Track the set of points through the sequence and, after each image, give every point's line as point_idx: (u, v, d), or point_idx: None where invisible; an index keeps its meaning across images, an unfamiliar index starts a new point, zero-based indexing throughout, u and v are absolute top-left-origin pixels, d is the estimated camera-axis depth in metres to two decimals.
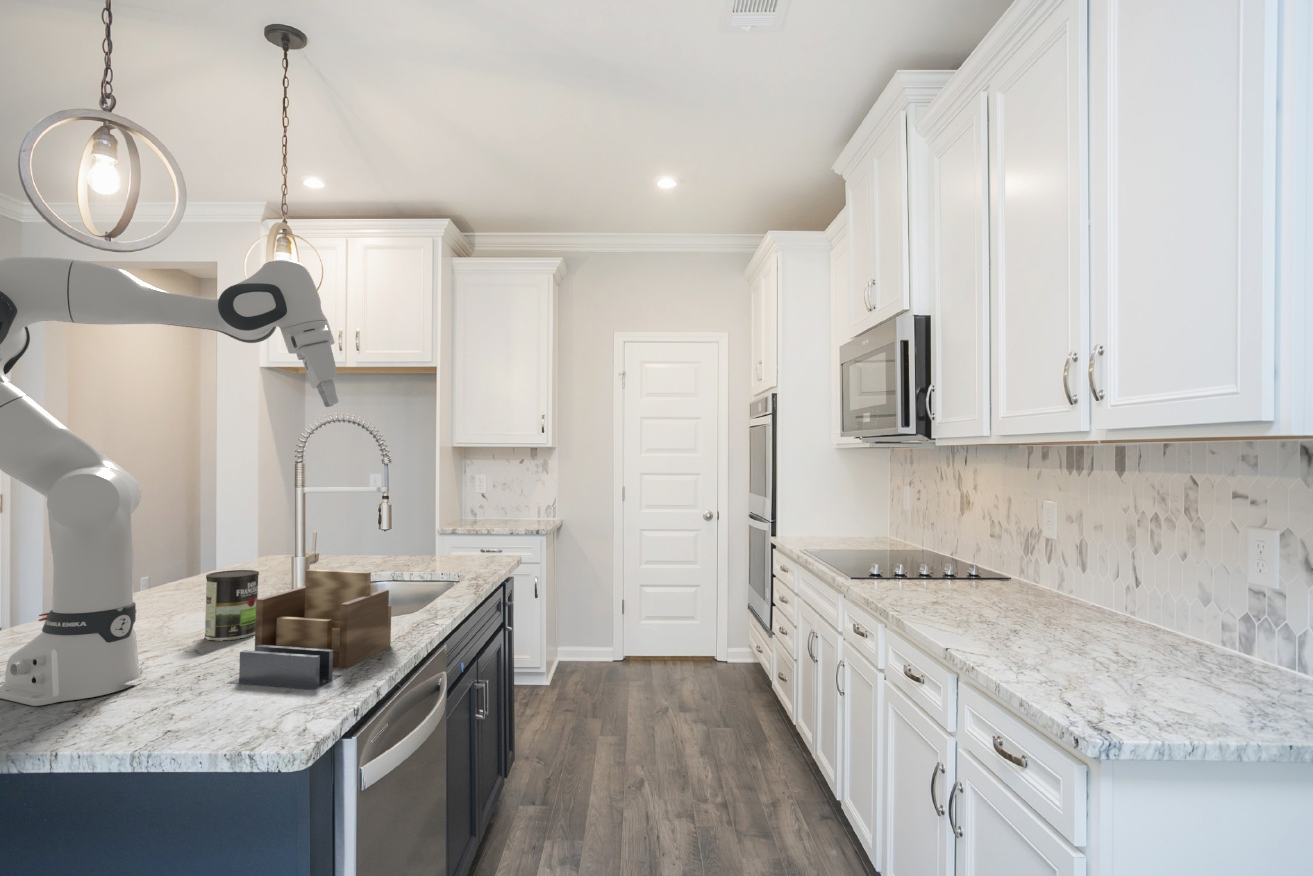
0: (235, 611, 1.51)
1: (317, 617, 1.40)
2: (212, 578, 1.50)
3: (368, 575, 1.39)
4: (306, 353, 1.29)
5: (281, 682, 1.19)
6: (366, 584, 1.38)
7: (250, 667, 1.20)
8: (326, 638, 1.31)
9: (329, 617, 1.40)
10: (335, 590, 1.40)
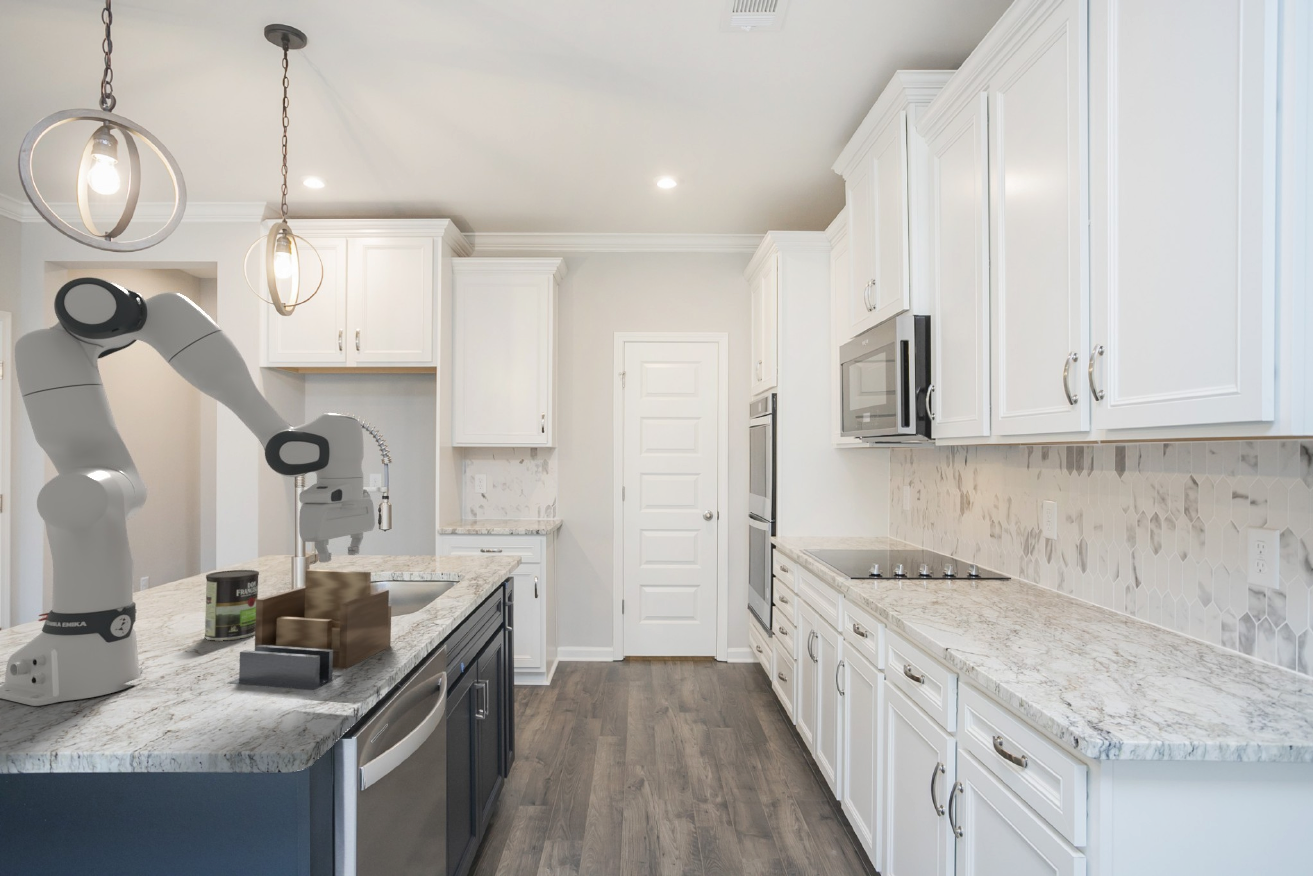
0: (235, 611, 1.51)
1: (317, 617, 1.40)
2: (212, 578, 1.50)
3: (368, 575, 1.39)
4: (300, 512, 1.32)
5: (281, 682, 1.19)
6: (366, 584, 1.38)
7: (250, 667, 1.20)
8: (326, 638, 1.31)
9: (329, 617, 1.40)
10: (335, 590, 1.40)
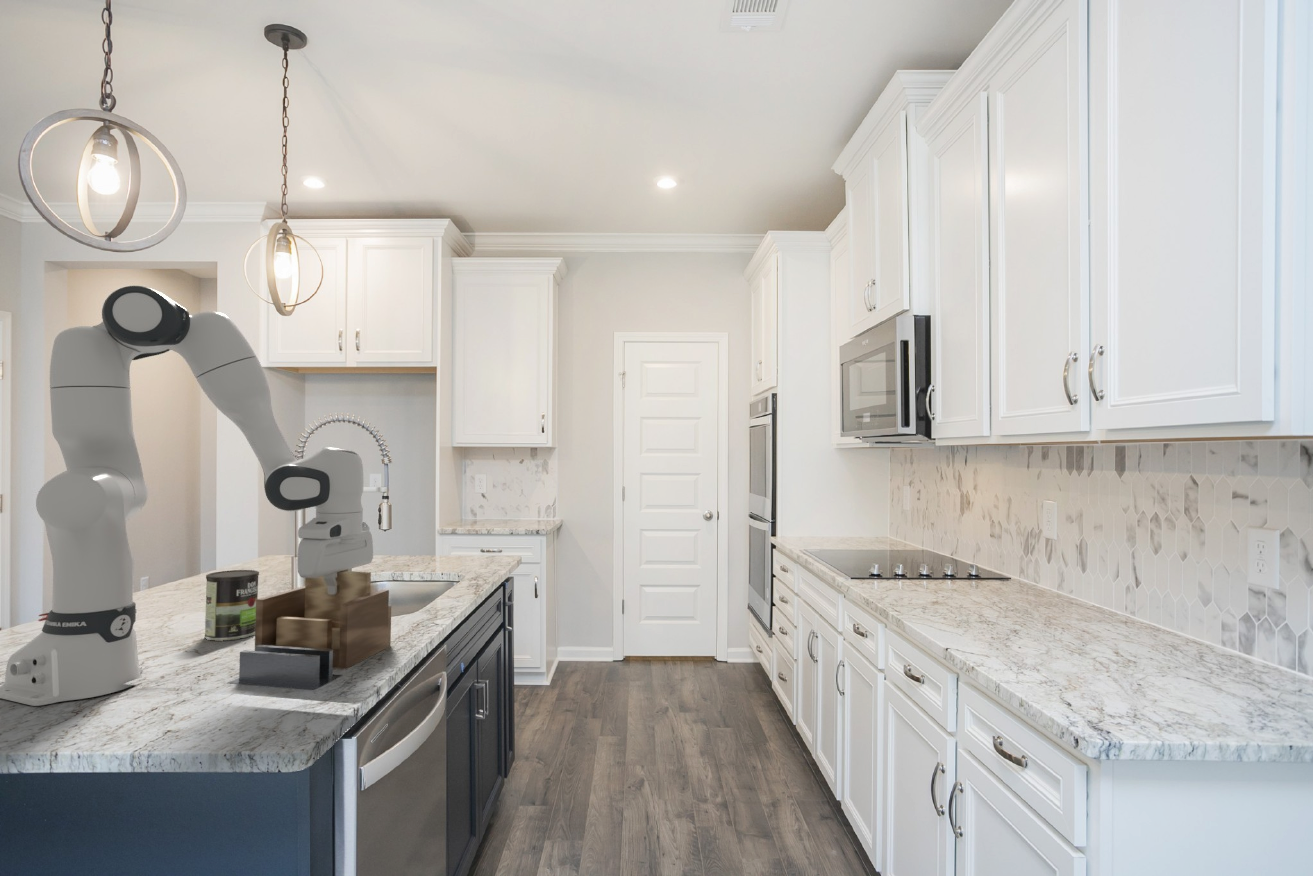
0: (235, 611, 1.51)
1: (317, 617, 1.40)
2: (212, 578, 1.50)
3: (368, 575, 1.39)
4: (298, 547, 1.32)
5: (281, 682, 1.19)
6: (366, 584, 1.38)
7: (250, 667, 1.20)
8: (326, 638, 1.31)
9: (329, 617, 1.40)
10: None
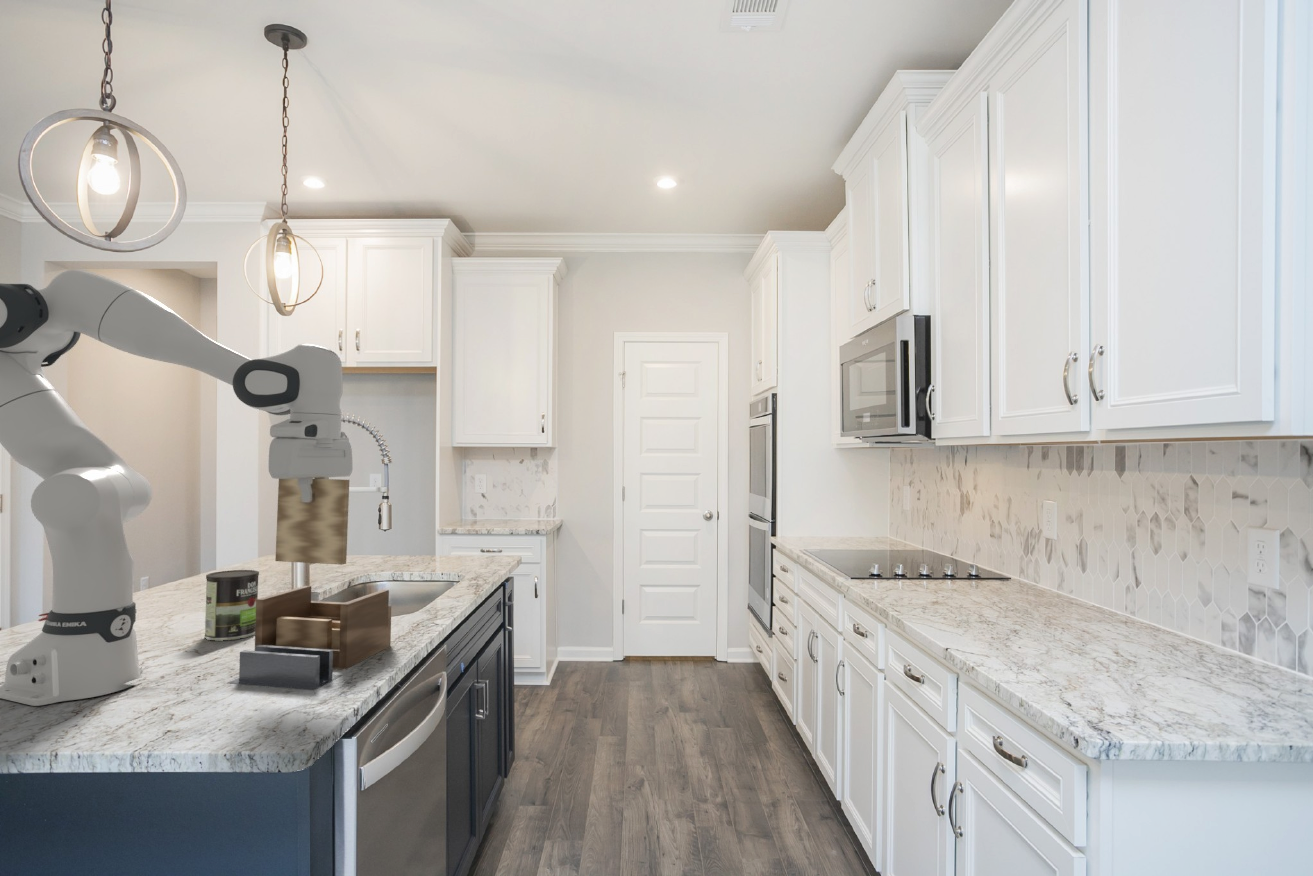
0: (235, 611, 1.51)
1: (290, 528, 1.30)
2: (212, 578, 1.50)
3: (346, 482, 1.29)
4: (270, 446, 1.21)
5: (281, 682, 1.19)
6: (344, 491, 1.28)
7: (250, 667, 1.20)
8: (326, 638, 1.31)
9: (303, 528, 1.29)
10: None
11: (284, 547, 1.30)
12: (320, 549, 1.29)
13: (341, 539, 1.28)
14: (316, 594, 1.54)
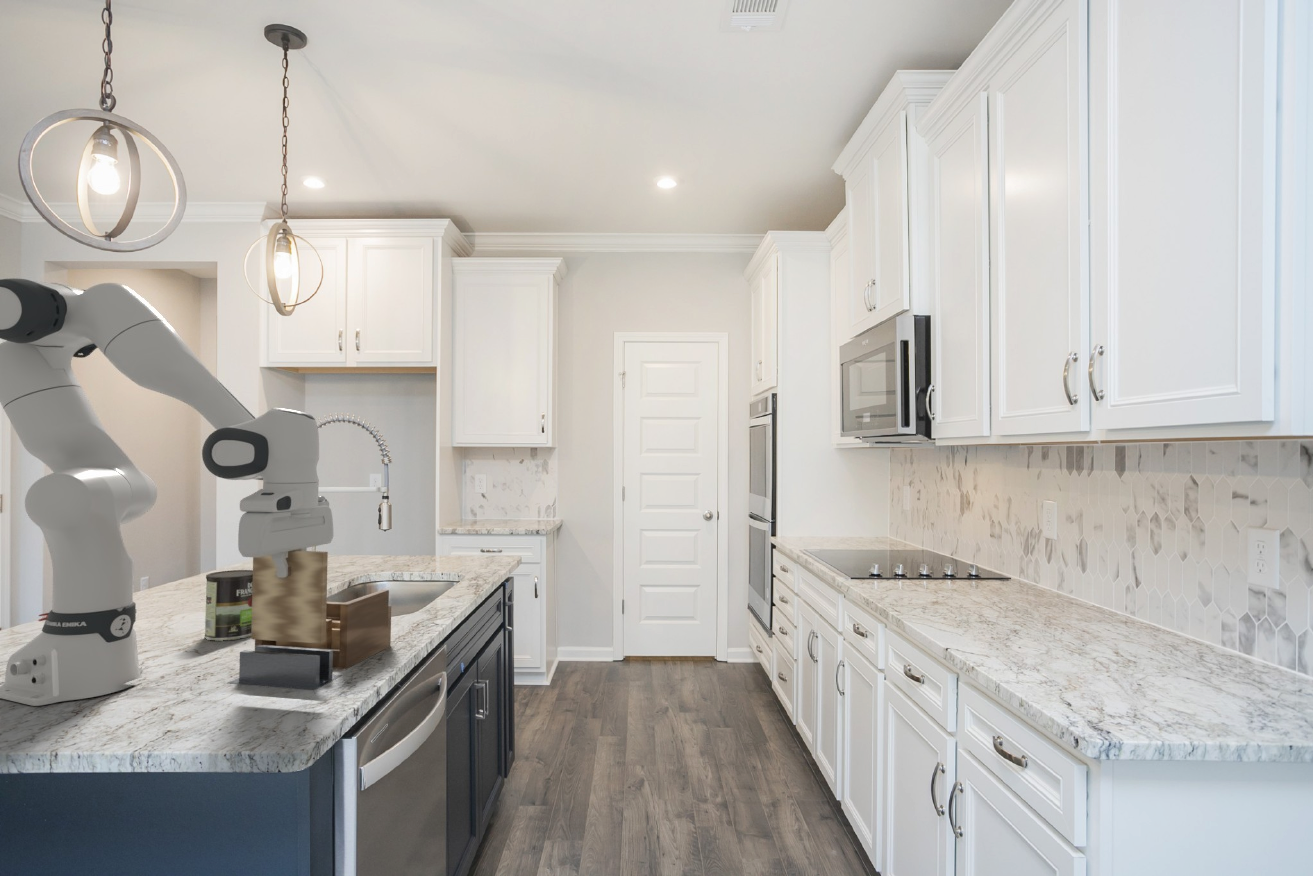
0: (235, 611, 1.51)
1: (266, 604, 1.22)
2: (212, 578, 1.50)
3: (324, 555, 1.20)
4: (239, 522, 1.13)
5: (281, 682, 1.19)
6: (322, 565, 1.20)
7: (250, 667, 1.20)
8: (326, 638, 1.31)
9: (280, 604, 1.21)
10: None
11: (260, 624, 1.22)
12: (298, 627, 1.20)
13: (319, 616, 1.20)
14: None
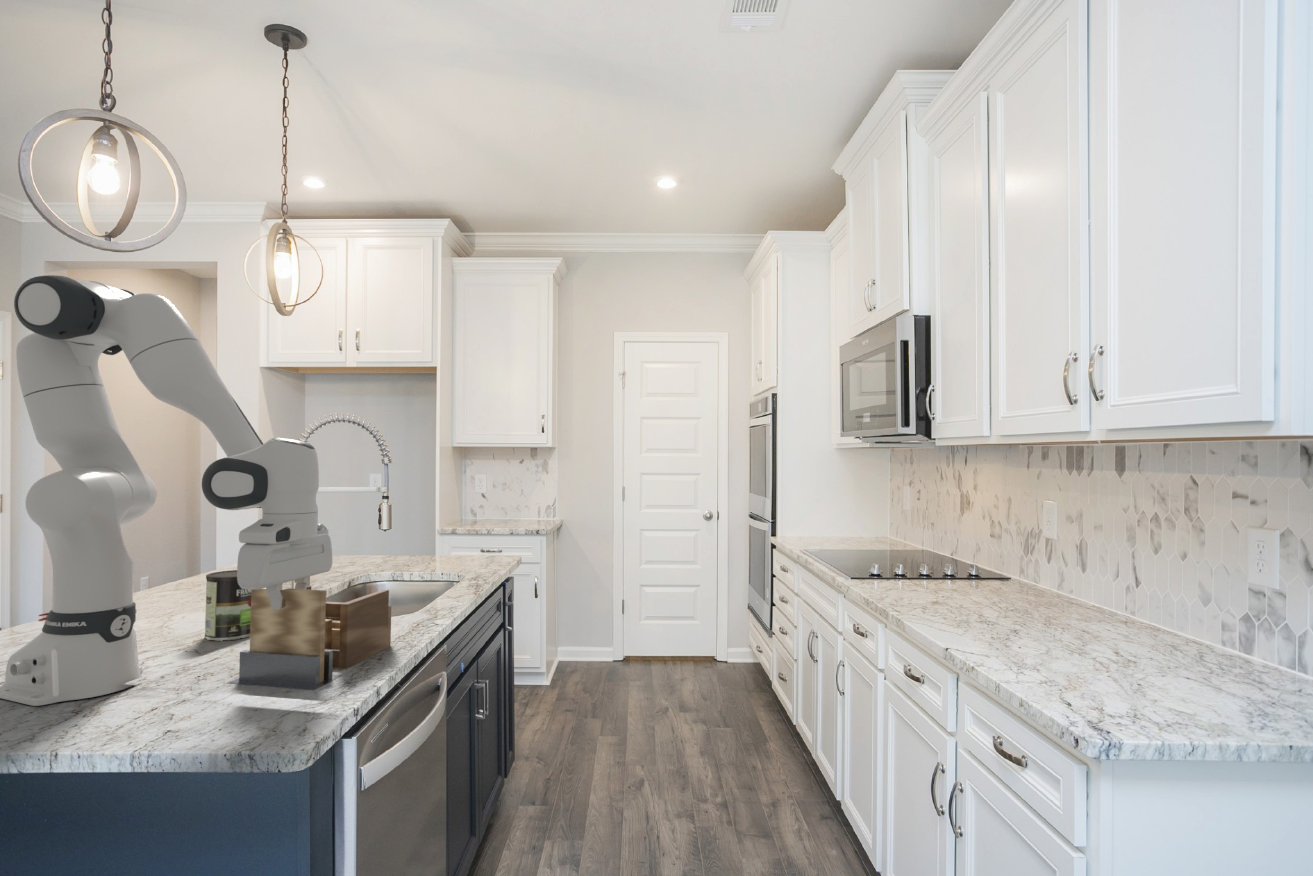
0: (235, 611, 1.51)
1: (264, 642, 1.21)
2: (212, 578, 1.50)
3: (323, 594, 1.20)
4: (238, 554, 1.13)
5: (281, 682, 1.19)
6: (320, 604, 1.20)
7: (250, 667, 1.20)
8: (326, 638, 1.31)
9: (278, 642, 1.21)
10: (284, 611, 1.21)
11: None
12: None
13: None
14: None
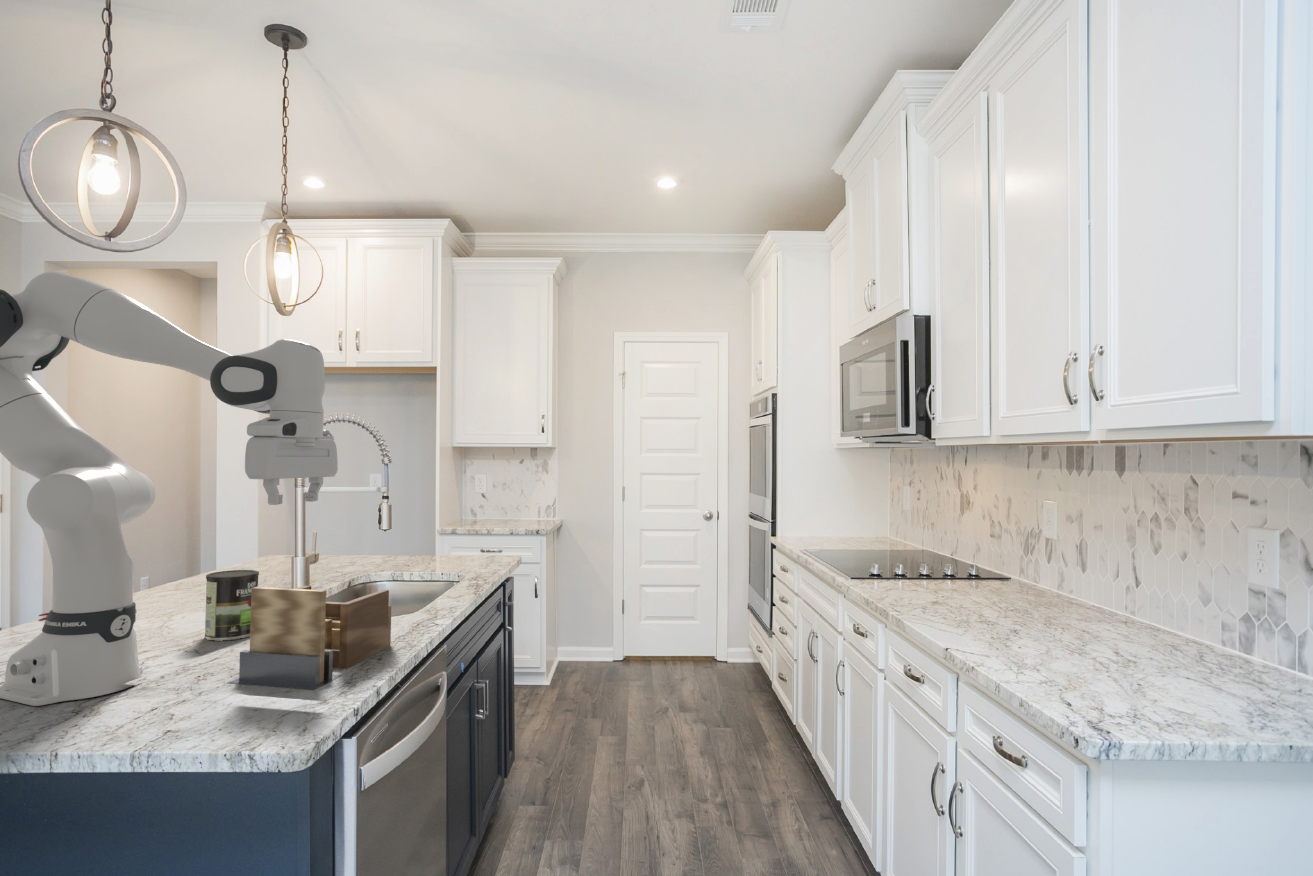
0: (235, 611, 1.51)
1: (264, 642, 1.21)
2: (212, 578, 1.50)
3: (323, 594, 1.20)
4: (246, 445, 1.16)
5: (281, 682, 1.19)
6: (320, 604, 1.20)
7: (250, 667, 1.20)
8: (326, 638, 1.31)
9: (278, 642, 1.21)
10: (284, 611, 1.21)
11: None
12: None
13: None
14: None
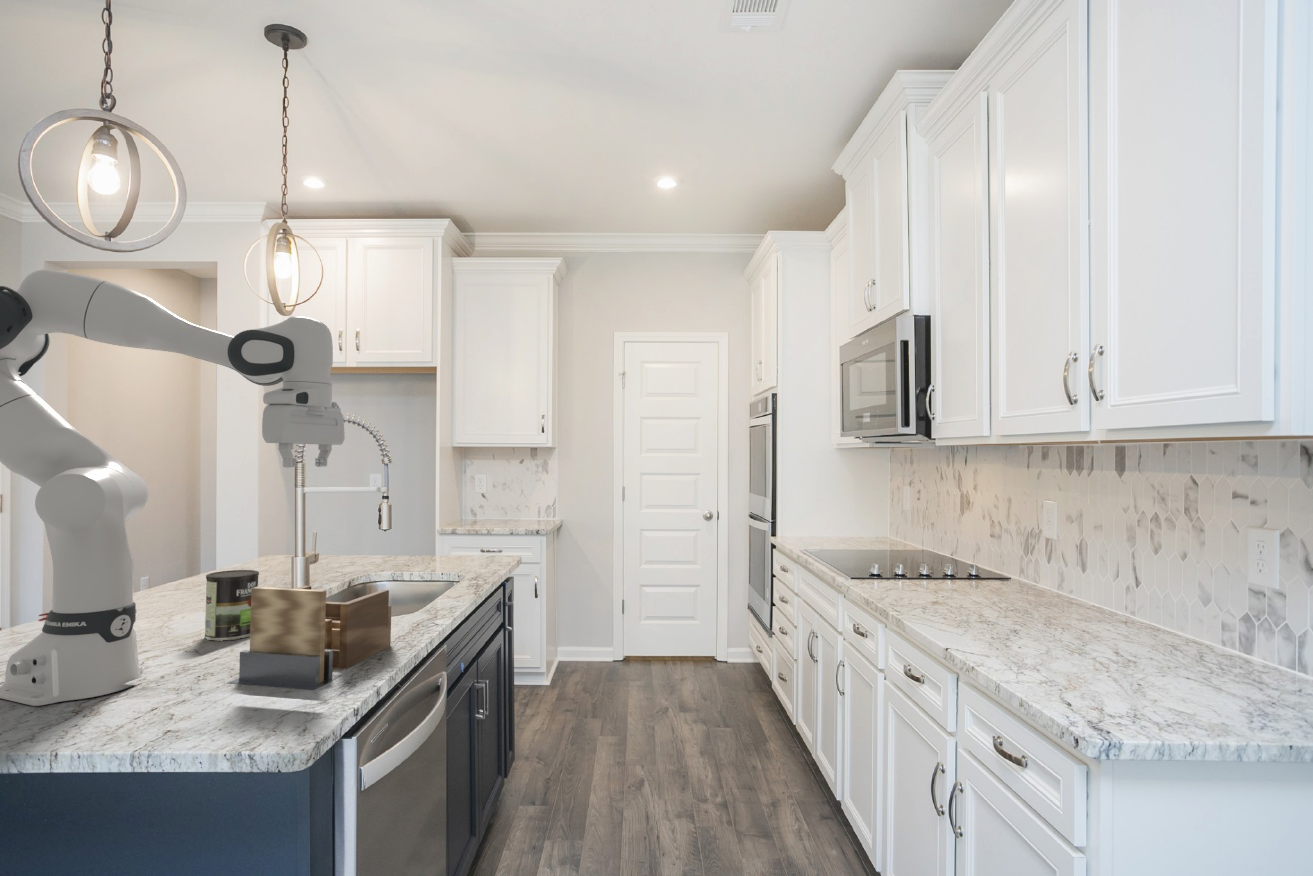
0: (235, 611, 1.51)
1: (264, 642, 1.21)
2: (212, 578, 1.50)
3: (323, 594, 1.20)
4: (263, 412, 1.27)
5: (281, 682, 1.19)
6: (320, 604, 1.20)
7: (250, 667, 1.20)
8: (326, 638, 1.31)
9: (278, 642, 1.21)
10: (284, 611, 1.21)
11: None
12: None
13: None
14: None
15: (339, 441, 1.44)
